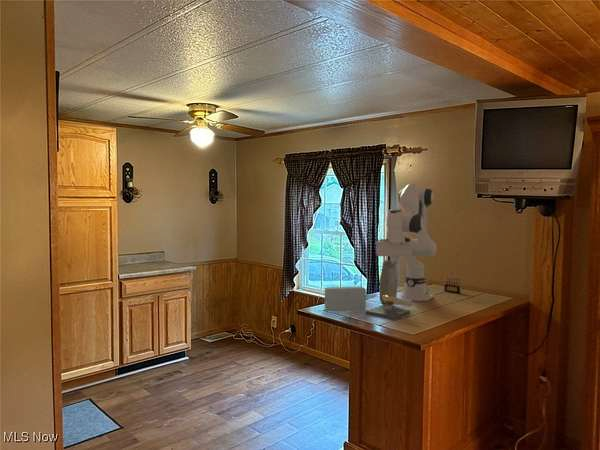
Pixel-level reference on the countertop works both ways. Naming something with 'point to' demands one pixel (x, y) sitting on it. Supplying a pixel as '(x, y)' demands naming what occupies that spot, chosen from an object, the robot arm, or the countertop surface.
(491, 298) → the countertop surface
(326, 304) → the bar with end hole
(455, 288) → the ammunition clip
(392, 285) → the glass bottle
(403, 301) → the gold knob with bar
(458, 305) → the countertop surface
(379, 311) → the plate
